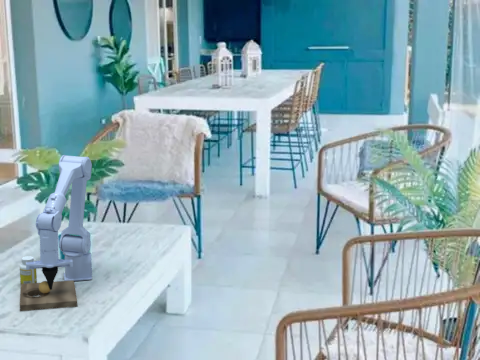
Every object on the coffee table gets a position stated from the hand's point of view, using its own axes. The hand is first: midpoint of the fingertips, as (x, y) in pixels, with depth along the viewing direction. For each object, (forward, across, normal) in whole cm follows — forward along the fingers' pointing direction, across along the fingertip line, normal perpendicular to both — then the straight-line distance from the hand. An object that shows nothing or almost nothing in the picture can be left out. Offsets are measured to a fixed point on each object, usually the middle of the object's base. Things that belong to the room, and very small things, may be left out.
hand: (50, 288), depth 215 cm
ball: (0, -2, 0) cm, 2 cm away
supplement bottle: (+3, -7, +14) cm, 16 cm away
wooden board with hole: (+3, -1, +1) cm, 4 cm away
